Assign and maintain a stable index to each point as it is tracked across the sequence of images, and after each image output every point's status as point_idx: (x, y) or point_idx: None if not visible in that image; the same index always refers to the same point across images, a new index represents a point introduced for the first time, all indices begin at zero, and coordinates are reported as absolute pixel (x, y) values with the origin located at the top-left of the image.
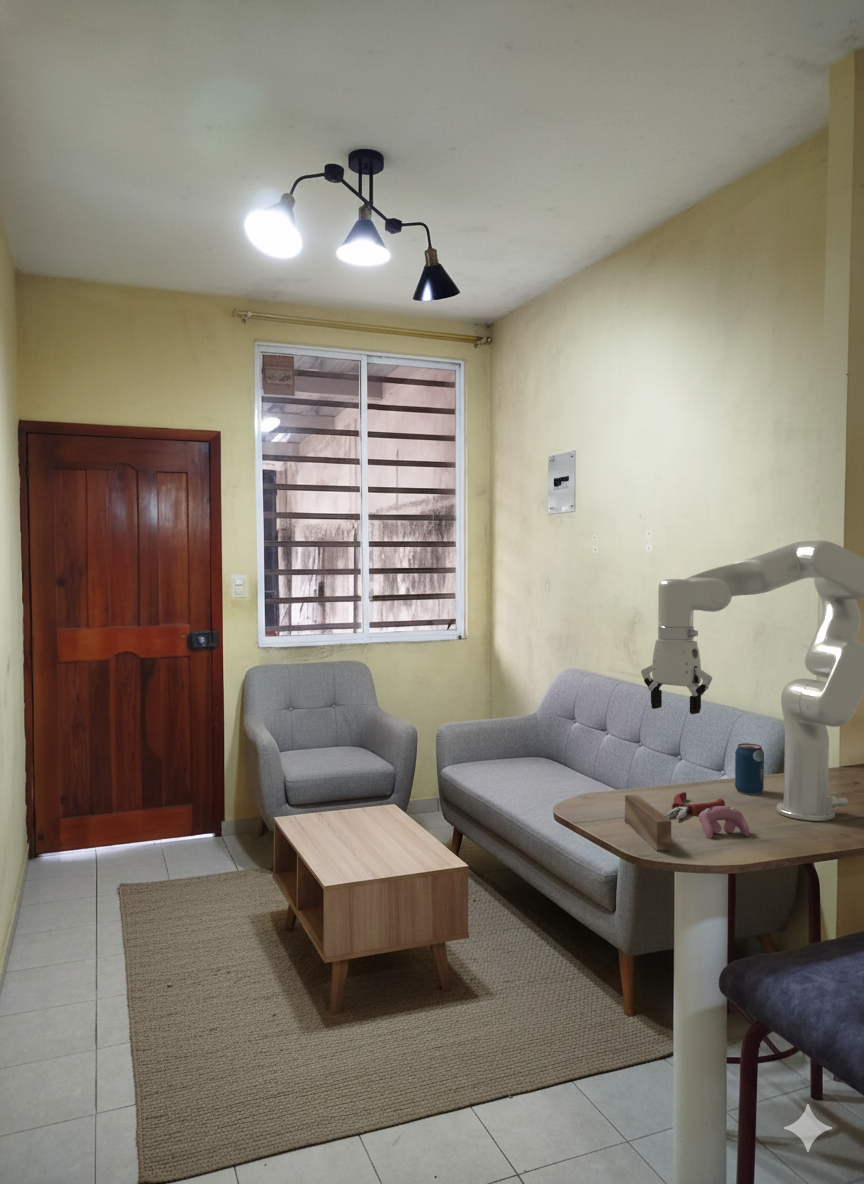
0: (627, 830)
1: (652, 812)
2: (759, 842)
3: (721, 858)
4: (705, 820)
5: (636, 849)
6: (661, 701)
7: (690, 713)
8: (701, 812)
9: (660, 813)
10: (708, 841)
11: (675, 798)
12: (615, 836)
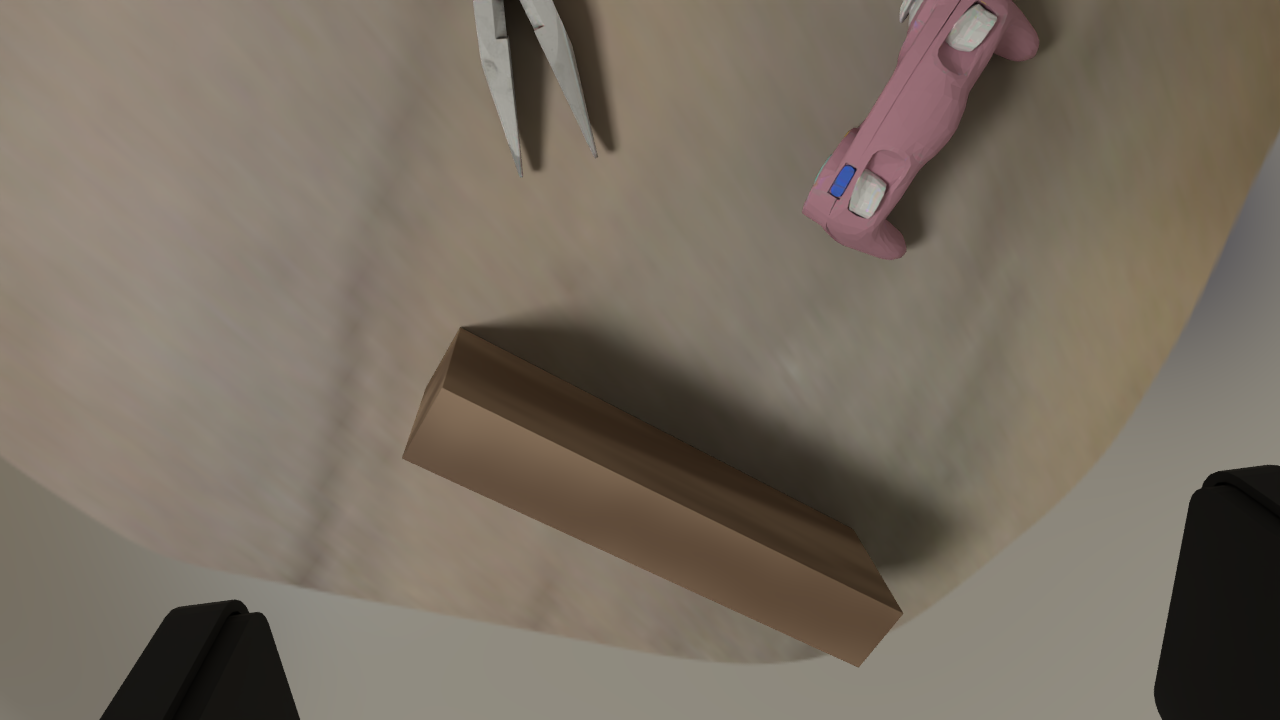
0: None
1: (749, 581)
2: (1093, 81)
3: (1050, 434)
4: (868, 244)
5: (747, 623)
6: (213, 716)
7: (1171, 709)
8: (820, 206)
9: (788, 562)
10: (899, 290)
11: None
12: (574, 580)
